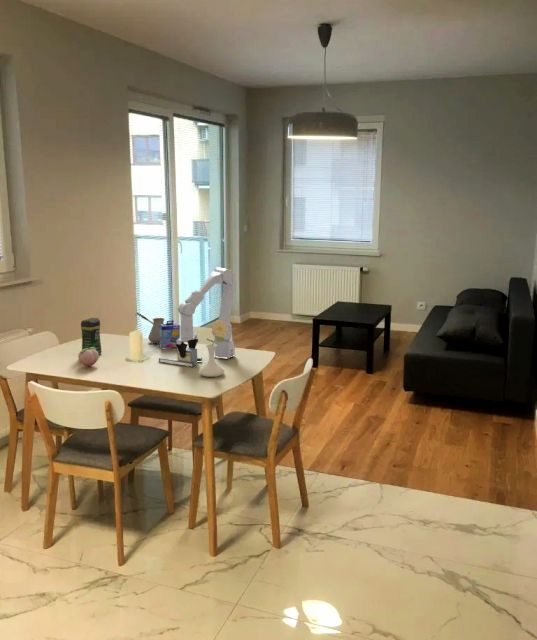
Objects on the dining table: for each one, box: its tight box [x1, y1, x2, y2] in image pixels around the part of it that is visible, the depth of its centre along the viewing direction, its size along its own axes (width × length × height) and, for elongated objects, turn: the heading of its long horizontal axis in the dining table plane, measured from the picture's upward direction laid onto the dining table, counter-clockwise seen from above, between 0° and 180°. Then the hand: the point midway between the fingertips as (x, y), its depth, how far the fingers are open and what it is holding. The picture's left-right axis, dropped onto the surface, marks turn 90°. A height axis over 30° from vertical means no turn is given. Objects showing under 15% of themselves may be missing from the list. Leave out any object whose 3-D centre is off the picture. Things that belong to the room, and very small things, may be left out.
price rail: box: [158, 356, 203, 368], centre depth 294 cm, size 20×10×2 cm, turn 64°
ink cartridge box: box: [159, 320, 181, 349], centre depth 321 cm, size 10×6×14 cm, turn 115°
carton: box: [176, 347, 198, 364], centre depth 292 cm, size 5×8×7 cm, turn 64°
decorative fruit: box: [77, 347, 100, 368], centre depth 284 cm, size 9×8×10 cm
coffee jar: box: [80, 317, 102, 355], centre depth 304 cm, size 10×8×19 cm
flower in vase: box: [198, 319, 228, 378], centre depth 272 cm, size 13×11×25 cm
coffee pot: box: [134, 312, 166, 344], centre depth 333 cm, size 21×12×15 cm, turn 61°
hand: (187, 355), depth 292 cm, fingers open, 7 cm apart
